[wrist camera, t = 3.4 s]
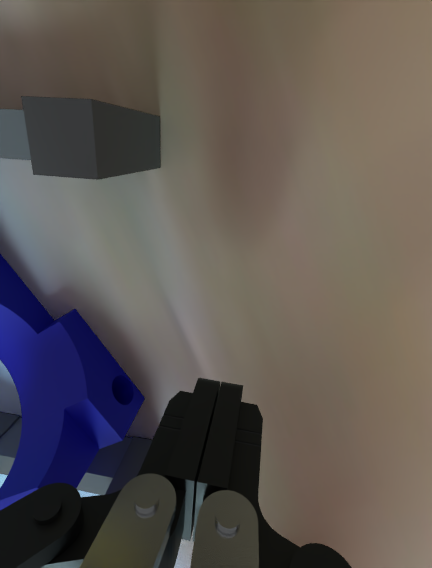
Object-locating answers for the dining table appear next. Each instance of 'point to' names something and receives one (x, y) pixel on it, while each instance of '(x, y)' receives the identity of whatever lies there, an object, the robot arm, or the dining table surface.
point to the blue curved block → (58, 391)
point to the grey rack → (90, 165)
